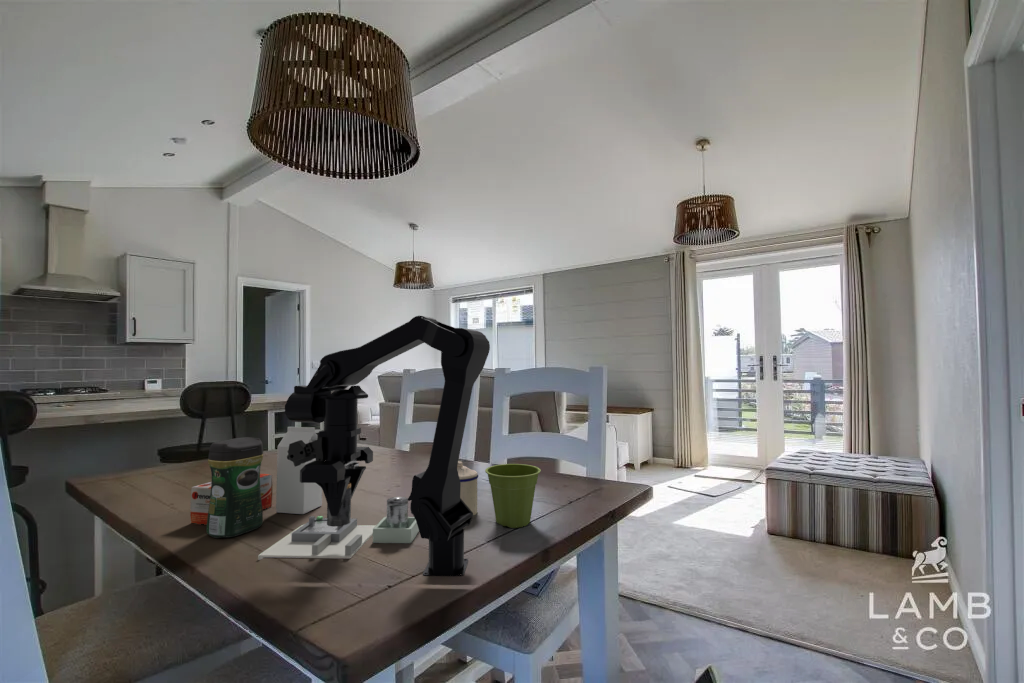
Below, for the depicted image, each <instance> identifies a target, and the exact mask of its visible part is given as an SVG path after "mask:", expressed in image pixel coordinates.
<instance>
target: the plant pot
mask: <svg viewBox="0 0 1024 683" xmlns="http://www.w3.org/2000/svg"><path fill="white" fill-rule="evenodd" d="M541 471H542V470H541V468H539V467H538V466H535V465H530V464H525V463H524V464H523V463H503V464H496V465H495V464H494V465H492V466H488V467H486V468H485V470H484V472H485V473H486V474H487V477H488V482H489V486H490V491H491V496H492V503H493V509H494V517H495V521H496V523H497V524H498V525H500V526H502V527H503V528H504V527H508V528H511V529H517V528H524V527H526V526H528V524H529V523H530V524H531V518H532V513H533V504H534V499H535V498H534V497H535V493H536V492H535V491H536V485H537V484H538V479H539V474H540V473H541ZM523 526H524V527H523Z"/></svg>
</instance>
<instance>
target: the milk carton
mask: <svg viewBox="0 0 1024 683" xmlns="http://www.w3.org/2000/svg"><path fill="white" fill-rule="evenodd" d="M286 431H287V432H286V433H285V434H284V436H283V437H282V439H281V440H280V442H279V444H278V445H276V446H277V451H276V452H277V453H276V456H277V457H276V458H277V459H276V489H275V490H276V491H275V492H276V495H275V499H276V500H275V512H276V513H280V514H281V513H282V514H296V515H305V514H307V513H309V512H311V511H312V510H315V509H317V508H319V507H321V506H322V505H323V490H322V488H321V487H320V486H319V485H318V484H316V483H301V482H300V470H301V469H302V468H303V467H304V466H305V465H306V464H308V463H311V462H313V461H316V458H314V459H312V460H311V461H308V462H305V463H303V464H302V463H301V465H299V466H296V467H295V466H294V463H293V462H292V461H290V460H288V459H287V456H288V450H289V444H291V443H294V442H297V441H300V440H302V441H303V442H304V443H305V444H307V443H310V442H313V441H315V440H317V435H318V433H316V427H314V426H313V427H310V426H302V427H301V426H287V430H286Z"/></svg>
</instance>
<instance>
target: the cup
mask: <svg viewBox="0 0 1024 683" xmlns="http://www.w3.org/2000/svg"><path fill="white" fill-rule="evenodd" d="M375 525H376V526H375V527H374V528H373V535H372V544H374V543H375V544H412V543H413V541H414V540H415V538H416V537H417V535H418V534H419V533H420V532H419V529H418V525H417V522H416V519H415V518H414V516H408V528H387V516H383V518H381V519H380V521H379V522H378V523H377V524H375Z"/></svg>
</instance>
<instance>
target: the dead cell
mask: <svg viewBox="0 0 1024 683" xmlns="http://www.w3.org/2000/svg"><path fill="white" fill-rule="evenodd" d="M408 498H409V497H405V496H394V497H389V498H387V499H386V517H387V528H408V517H409V501H408Z"/></svg>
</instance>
